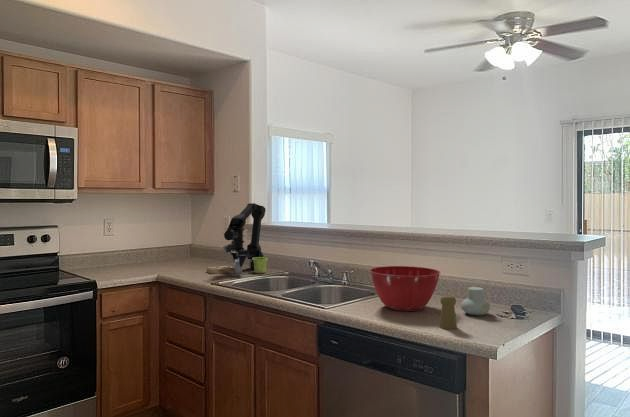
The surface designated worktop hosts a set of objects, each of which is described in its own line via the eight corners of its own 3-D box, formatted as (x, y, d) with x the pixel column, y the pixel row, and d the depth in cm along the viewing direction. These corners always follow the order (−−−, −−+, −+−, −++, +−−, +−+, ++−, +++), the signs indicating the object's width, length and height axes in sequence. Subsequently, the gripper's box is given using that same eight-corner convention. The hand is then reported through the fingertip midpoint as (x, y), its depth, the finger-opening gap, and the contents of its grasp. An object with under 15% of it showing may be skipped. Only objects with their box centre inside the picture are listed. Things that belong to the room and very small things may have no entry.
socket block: (229, 270, 297) (229, 265, 297) (235, 273, 288) (235, 267, 288) (206, 272, 290) (206, 266, 290) (211, 274, 281) (211, 269, 281)
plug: (239, 272, 286) (239, 259, 286) (242, 273, 283) (242, 259, 283) (234, 273, 284) (233, 259, 284) (236, 274, 281) (236, 260, 281)
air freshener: (473, 309, 197) (473, 285, 197) (492, 313, 191) (492, 288, 191) (458, 314, 190) (458, 288, 190) (478, 318, 184) (478, 291, 184)
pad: (242, 272, 290) (242, 271, 290) (248, 274, 282) (248, 273, 282) (228, 273, 285) (228, 272, 285) (233, 276, 278) (233, 275, 278)
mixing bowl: (385, 297, 221) (385, 263, 220) (448, 304, 206) (449, 268, 206) (358, 310, 197) (358, 271, 196) (427, 319, 182) (427, 278, 181)
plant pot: (271, 272, 290) (271, 258, 289) (261, 274, 282) (261, 259, 281) (259, 271, 295) (259, 256, 294) (248, 273, 287) (248, 258, 286)
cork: (453, 324, 175) (454, 294, 175) (459, 329, 169) (459, 297, 168) (437, 324, 175) (437, 294, 174) (441, 329, 169) (442, 297, 168)
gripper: (219, 238, 287) (219, 264, 288) (229, 240, 271) (230, 269, 272) (237, 237, 293) (237, 263, 293) (248, 240, 276) (249, 267, 277)
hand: (238, 265), depth 284 cm, fingers open, 9 cm apart
